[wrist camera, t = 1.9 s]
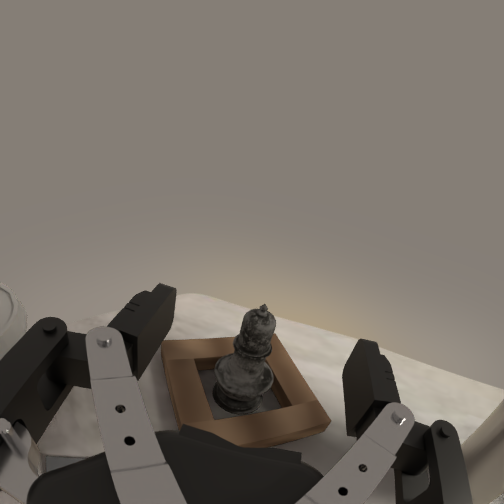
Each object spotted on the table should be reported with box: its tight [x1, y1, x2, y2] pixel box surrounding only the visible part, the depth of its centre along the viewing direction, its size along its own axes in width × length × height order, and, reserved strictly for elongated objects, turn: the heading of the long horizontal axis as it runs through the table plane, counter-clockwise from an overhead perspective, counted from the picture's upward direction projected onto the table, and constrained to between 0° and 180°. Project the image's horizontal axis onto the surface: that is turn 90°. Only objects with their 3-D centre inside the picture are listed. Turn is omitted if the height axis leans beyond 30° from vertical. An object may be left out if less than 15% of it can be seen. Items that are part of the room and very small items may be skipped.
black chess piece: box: [213, 304, 276, 414], centre depth 28 cm, size 6×6×12 cm
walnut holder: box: [161, 334, 331, 448], centre depth 30 cm, size 14×14×2 cm
